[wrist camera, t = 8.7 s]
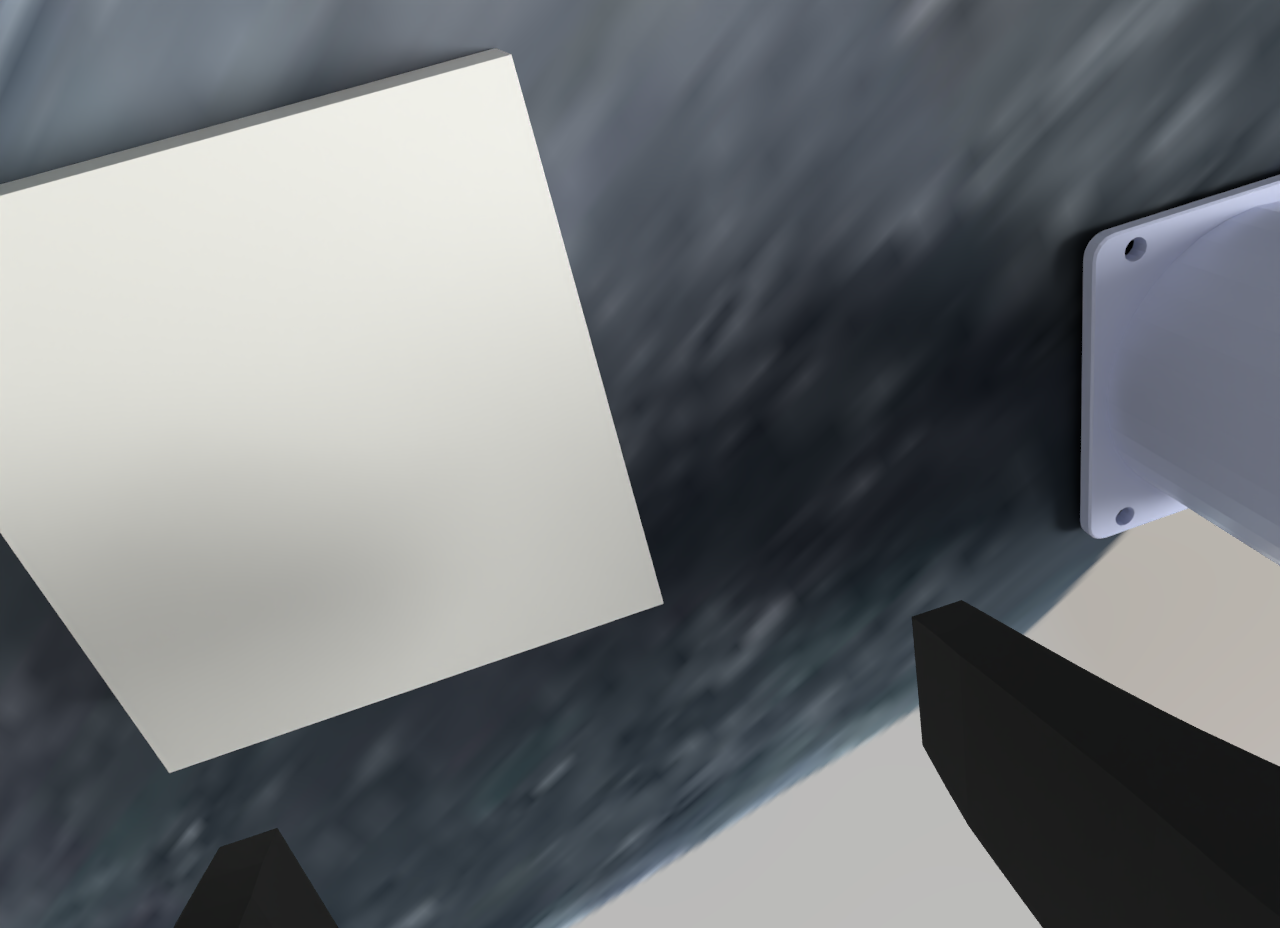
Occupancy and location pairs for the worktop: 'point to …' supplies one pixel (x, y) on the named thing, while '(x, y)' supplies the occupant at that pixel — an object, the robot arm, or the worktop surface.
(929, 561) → the worktop surface
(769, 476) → the worktop surface
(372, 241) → the board
